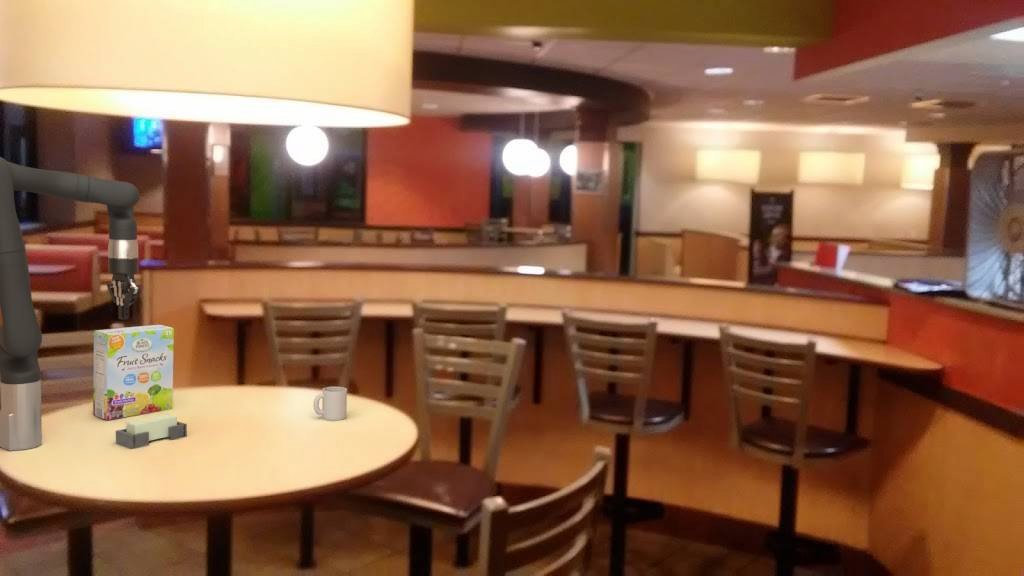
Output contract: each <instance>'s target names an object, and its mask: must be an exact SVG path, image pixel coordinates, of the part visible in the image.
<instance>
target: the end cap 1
mask: <svg viewBox="0 0 1024 576" xmlns="http://www.w3.org/2000/svg"><path fill="white" fill-rule="evenodd" d="M115 444H116V445H119V446H122V447H125V448H128V449H130V450H135V449H137V448H142V447H146V446H149V445H150V441H149V432H143V433H138V434H130V433H127V432H126V428H123V429H117V430H115Z"/></svg>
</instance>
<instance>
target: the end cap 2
mask: <svg viewBox="0 0 1024 576" xmlns="http://www.w3.org/2000/svg"><path fill="white" fill-rule="evenodd" d="M187 433H188V424H187V423H185V422H181V421H178V420H177V425H175V426H170V427H168V437H164V438H163V439H166V440H170V441H173V440H178V439H182V438H186V437H188V435H187Z"/></svg>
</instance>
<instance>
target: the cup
mask: <svg viewBox="0 0 1024 576" xmlns="http://www.w3.org/2000/svg"><path fill="white" fill-rule="evenodd" d="M321 399H322V405H321V406H322V409H321V408H320V400H321ZM347 400H348V389H347V388H346V387H343V386H327V387H323V388H322V392H321V393H318V394H317V395H316V396H315V397H314V399H313V410H314V412H315V414H317V415H320V416H322V418H323V420H325V421H327V422H328V421H330V422H332V421H333V422H335V421H336V422H337V421H338V422H339V421H343V420H345V419H346V418H347V411H348V409H347V408H348V407H347V406H348V405H347V404H348V401H347Z"/></svg>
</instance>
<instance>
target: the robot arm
mask: <svg viewBox="0 0 1024 576" xmlns="http://www.w3.org/2000/svg"><path fill="white" fill-rule="evenodd" d="M15 191H19V192H20V191H21V192H28V193H34V194H40V195H44V196H50V197H53V198H58V199H64V200H69V201H74V202H82V203H87V204H89V203H90V204H91V203H92V204H100V205H104V206H106V209H107V215H108V216H107V217H108V239H109V240H108V244H107V246H108V247H107V257H108V258H107V267H108V270H107V271H108V273H109V274H111V275H112V277H111V282H110V283H109V282H108V283H107V284H106V288H107V290H108V291H109V295H110V297H111V299H112V302H113V303H116V306H117V309H118V313H117V314H118V315H117V316H118V320H122V321H123V320H124V321H126V320H129V319H130V306H131V305H133V304H135V302H136V301H137V298H138V296H139V295H140V292H141V287H140V286H137V285H136V280H135V278H136V277H135V274H138V273H139V246H138V224H137V221H136V219H135V216H134V215H135V214H134V207H135V205H137V204H138V202H139V200H140V192H139V190H138V188H137V187H136V186H135V184H133V183H130V182H128V181H122V180H121V181H119V180H112V179H103V178H98V177H96V176H95V177H94V176H91V175H86V174H80V173H73V172H67V171H59V170H49V169H41V168H34V167H29V166H25V165H20V164H17V163H14V162H10V161H7V160H6V159H5V158H3V157H1V156H0V314H1V323H2V324H1V325H0V448H2V449H4V450H6V451H10V452H11V451H21V450H30V449H34V448H37V447H39V446H41V445H42V444H43V433H42V432H43V431H42V429H43V427H42V423H43V422H42V385H41V384H42V381H41V380H42V379H41V376H42V375H41V374H42V373H41V368H40V365H39V358H38V357H39V356H38V351H39V349H40V348H41V346H42V344H43V343H42V342H43V334H42V330H41V327H40V324H39V322H38V321H39V320H38V318H37V314H36V311H35V307H34V304H33V298H32V297H33V296H32V286H31V278H30V270H29V262H28V256H27V250H26V245H25V242H24V238H23V237H24V236H23V232H22V229H21V225H20V221H19V218H18V214H17V211H16V204H15V194H14V193H15Z"/></svg>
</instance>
